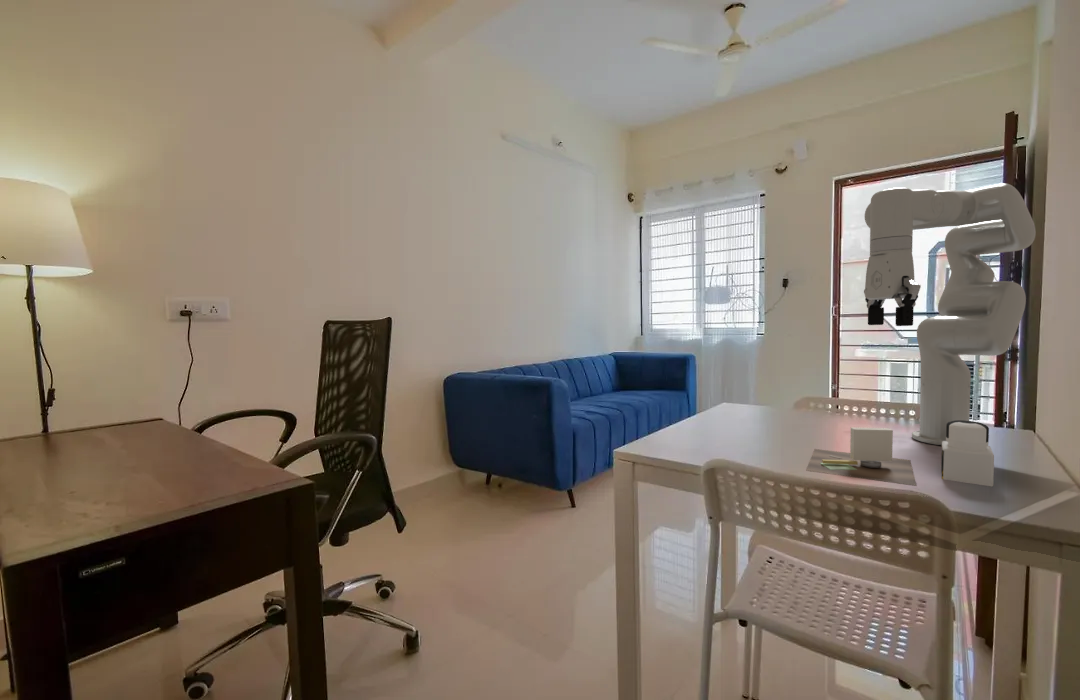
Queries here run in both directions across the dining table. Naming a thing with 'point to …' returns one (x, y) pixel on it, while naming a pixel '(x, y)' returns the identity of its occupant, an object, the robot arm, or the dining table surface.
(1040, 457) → the dining table surface
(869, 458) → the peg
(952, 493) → the dining table surface
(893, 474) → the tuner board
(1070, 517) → the dining table surface
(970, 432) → the medicine bottle
